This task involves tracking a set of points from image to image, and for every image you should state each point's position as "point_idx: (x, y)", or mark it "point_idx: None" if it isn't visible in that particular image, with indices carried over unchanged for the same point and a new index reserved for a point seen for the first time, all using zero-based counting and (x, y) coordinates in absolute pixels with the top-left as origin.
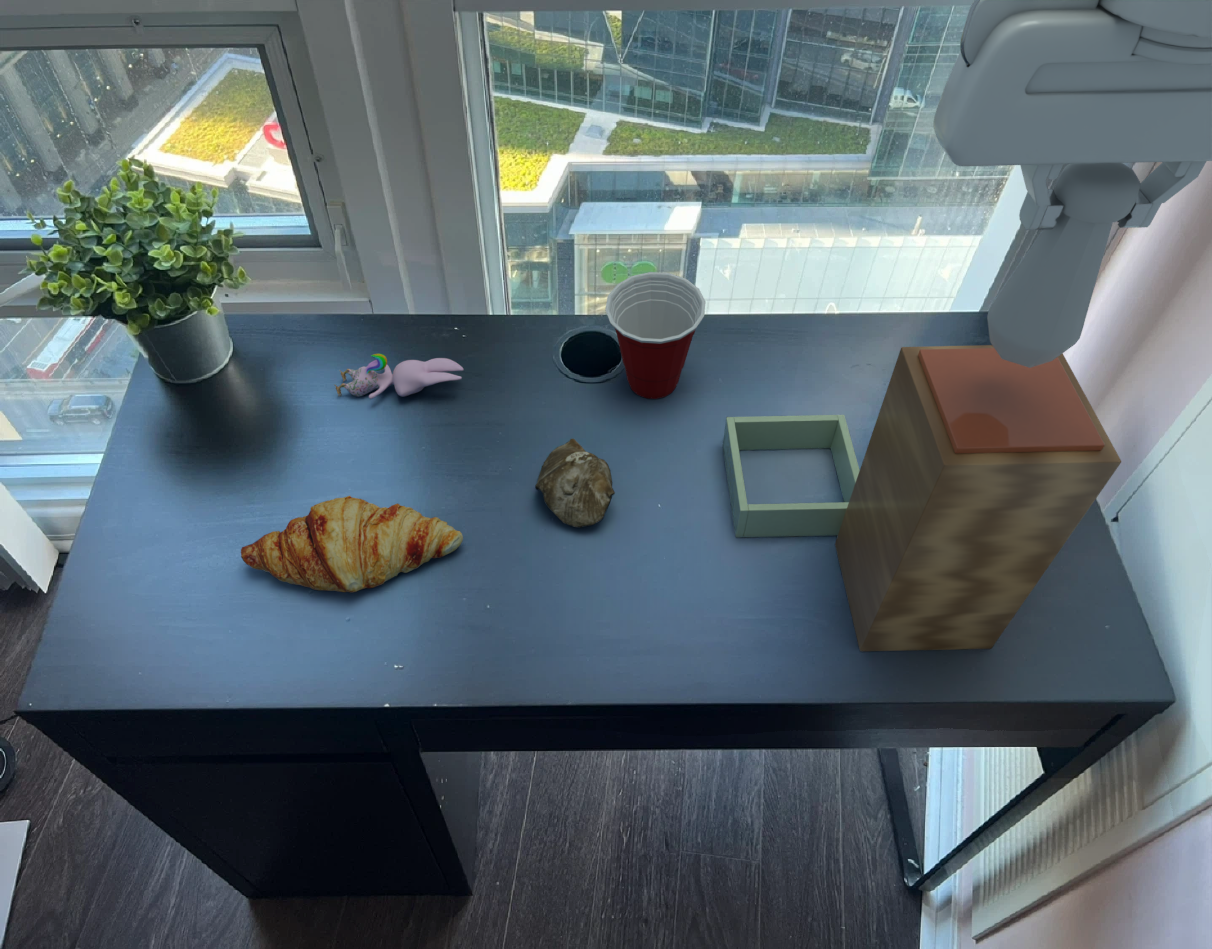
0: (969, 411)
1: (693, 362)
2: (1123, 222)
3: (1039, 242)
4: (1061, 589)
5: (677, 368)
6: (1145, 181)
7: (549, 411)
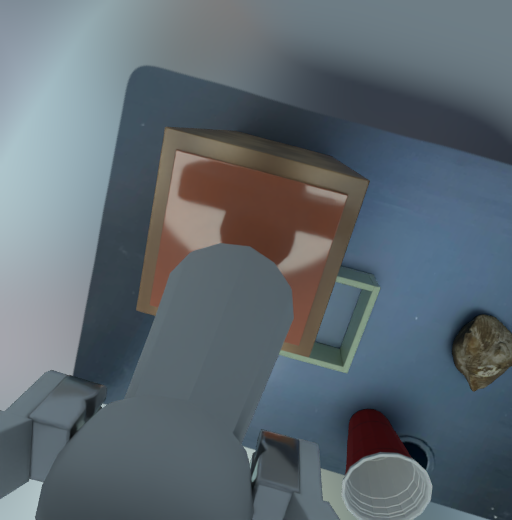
0: (300, 243)
1: (328, 432)
2: (100, 396)
3: (251, 413)
4: (158, 163)
5: (363, 428)
6: (8, 487)
7: (459, 422)
